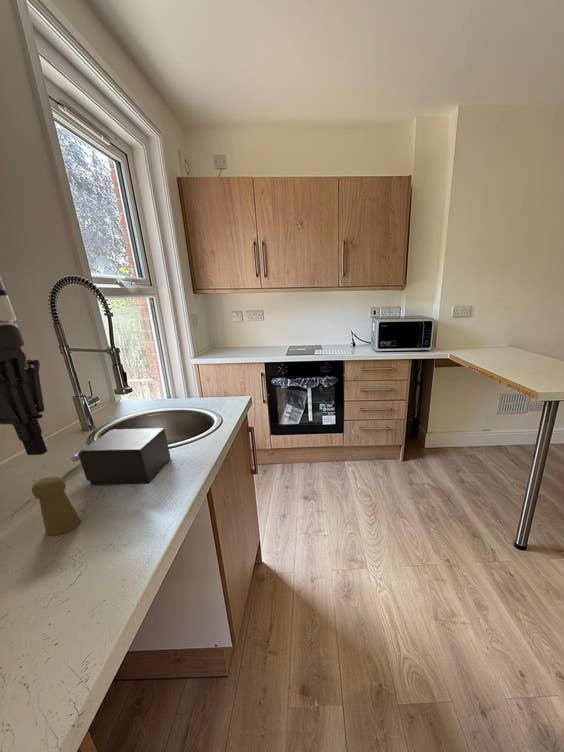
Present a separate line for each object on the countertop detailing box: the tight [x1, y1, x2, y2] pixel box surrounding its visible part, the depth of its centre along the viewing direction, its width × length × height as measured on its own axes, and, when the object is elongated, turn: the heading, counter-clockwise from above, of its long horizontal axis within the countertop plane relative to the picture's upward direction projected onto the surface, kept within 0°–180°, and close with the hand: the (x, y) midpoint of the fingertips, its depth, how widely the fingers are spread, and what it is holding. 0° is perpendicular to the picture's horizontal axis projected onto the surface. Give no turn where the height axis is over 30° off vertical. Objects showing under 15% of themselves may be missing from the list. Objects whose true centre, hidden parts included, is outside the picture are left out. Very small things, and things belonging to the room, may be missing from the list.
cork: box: [31, 475, 82, 537], centre depth 70 cm, size 6×6×11 cm
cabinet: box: [79, 427, 172, 486], centre depth 91 cm, size 15×14×10 cm
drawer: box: [70, 451, 90, 482], centre depth 91 cm, size 18×12×8 cm
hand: (37, 453), depth 66 cm, fingers closed
